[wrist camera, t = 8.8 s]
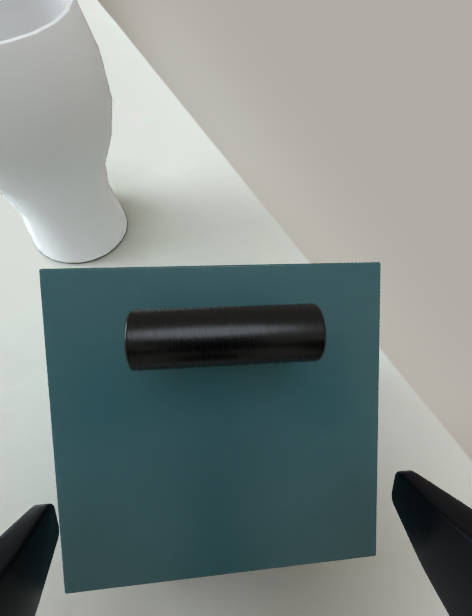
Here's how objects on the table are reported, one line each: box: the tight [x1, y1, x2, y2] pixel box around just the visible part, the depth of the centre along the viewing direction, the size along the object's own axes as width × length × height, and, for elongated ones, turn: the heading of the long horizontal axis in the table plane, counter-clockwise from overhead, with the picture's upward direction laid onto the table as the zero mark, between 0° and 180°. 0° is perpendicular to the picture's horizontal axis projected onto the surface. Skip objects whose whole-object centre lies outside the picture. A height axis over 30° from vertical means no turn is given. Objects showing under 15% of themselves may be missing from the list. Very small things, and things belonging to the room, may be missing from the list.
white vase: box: [0, 0, 127, 263], centre depth 21 cm, size 11×11×15 cm
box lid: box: [39, 262, 380, 594], centre depth 10 cm, size 11×12×4 cm
